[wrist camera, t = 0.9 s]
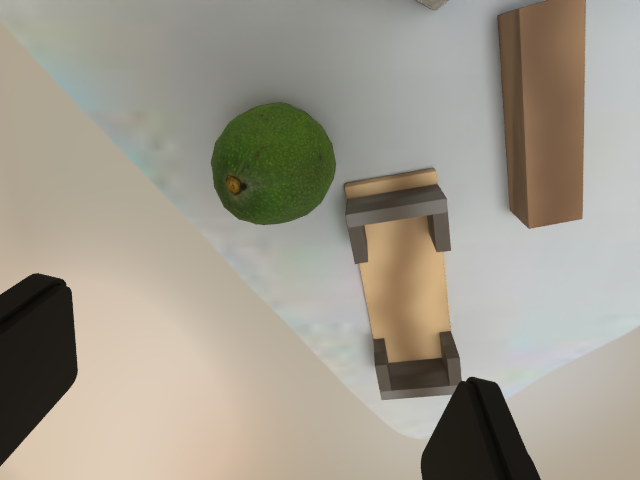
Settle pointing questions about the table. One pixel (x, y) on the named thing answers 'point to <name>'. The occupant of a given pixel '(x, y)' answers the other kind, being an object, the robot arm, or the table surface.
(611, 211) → the table surface
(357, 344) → the table surface
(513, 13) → the slat
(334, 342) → the table surface
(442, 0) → the ink cartridge box
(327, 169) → the avocado
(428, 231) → the rail
